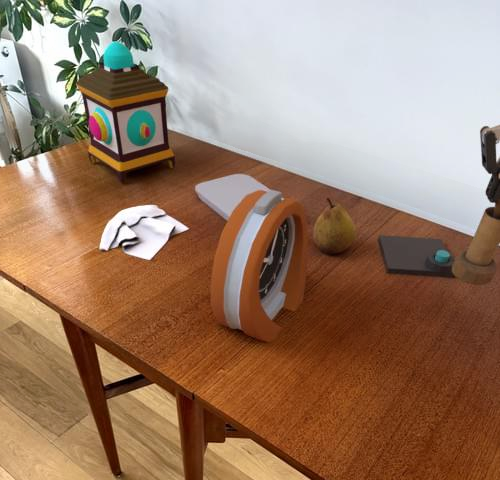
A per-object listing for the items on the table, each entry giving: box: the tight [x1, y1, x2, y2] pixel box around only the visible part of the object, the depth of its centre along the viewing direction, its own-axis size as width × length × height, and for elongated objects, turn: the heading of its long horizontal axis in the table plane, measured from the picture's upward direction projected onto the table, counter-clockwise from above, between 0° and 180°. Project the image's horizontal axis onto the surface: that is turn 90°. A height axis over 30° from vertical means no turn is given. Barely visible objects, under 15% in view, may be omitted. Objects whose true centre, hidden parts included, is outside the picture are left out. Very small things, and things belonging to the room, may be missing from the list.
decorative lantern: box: [75, 40, 176, 184], centre depth 119 cm, size 20×20×30 cm
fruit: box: [312, 197, 356, 255], centre depth 98 cm, size 9×9×12 cm
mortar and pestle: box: [452, 196, 500, 286], centre depth 71 cm, size 7×6×18 cm
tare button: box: [435, 250, 451, 263], centre depth 95 cm, size 3×3×2 cm
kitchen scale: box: [377, 234, 456, 279], centre depth 100 cm, size 14×13×3 cm
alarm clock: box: [210, 189, 309, 343], centre depth 78 cm, size 22×10×23 cm, turn 151°
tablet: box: [194, 173, 285, 222], centre depth 114 cm, size 16×26×2 cm, turn 35°
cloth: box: [99, 204, 190, 261], centre depth 103 cm, size 20×22×2 cm
